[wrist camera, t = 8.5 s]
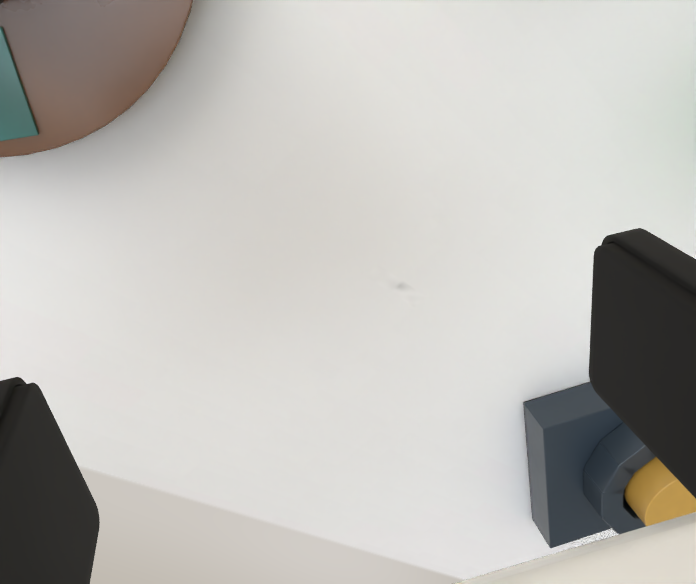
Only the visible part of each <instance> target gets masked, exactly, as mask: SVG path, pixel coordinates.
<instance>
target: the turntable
mask: <svg viewBox="0 0 696 584" xmlns="http://www.w3.org/2000/svg"><path fill="white" fill-rule="evenodd" d="M192 3H193V0H0V157H10V156H20V155H28V154H33V153H37V152H41V151H46V150H50V149H55V148H58V147H60V146H63V145H66V144H68V143H71V142H74V141H76V140H79V139H82V138H84V137H86V136H88V135H89V134H91V133H93V132H95V131H97V130H99V129H100V128H102V127H104V126H106V125H108V124H109V123H110V122H112V121H113V120H114V119H116V118H117V117H118V116H120V115H121V114H122V113H124V112H125V111H126V110H128V109H129V108H130V107H131V106H132V105H133V104H134V103H135V102H136V101H137V100H138V99H139V98H140V97H141V96H142V95H143V94H144V93H145V92H146V91H147V90H148V89H149V88H150V86H151V85H152V84H153V82H154V81H155V80H156V78H157V77H158V76H159V74H160V73H161V72H162V70H163V69H164V68H165V66H166V65H167V63H168V61H169V59H170V57H171V55H172V54H173V52H174V50H175V48H176V46H177V44H178V42H179V41H180V38H181V35H182V33H183V30H184V27H185V25H186V22H187V19H188V17H189V14H190V11H191V7H192Z"/></svg>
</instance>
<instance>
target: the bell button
mask: <svg viewBox="0 0 696 584" xmlns="http://www.w3.org/2000/svg"><path fill="white" fill-rule="evenodd" d="M624 494H625V499H626V502H627V503H628V505H629V506H630V507H631V508H632V510H633V511H634V512H635V513H636V514H637V516H638V517H639V518H640V519H641V521H642V522H643V523H644V524H645V526H650V525H653V524H656V523H660V522H663V521H667V520H670V519H674V518H677V517H680V516H684V515H687V514H691V513H694V512H696V498H695V497H694V496H693V495H692V494H691V493H690V492H689V491H688V490H687V489H686V488H685V487H684V486H683V485H682V484H681V483H680V481H679V480H678V479H677V478H676V477H675V476H674V475H673V474H672V473H671V472H670V471H669V470H668V469H667V468H666V467H665V466H664V464H663V463H662V462H661V461H660V460H659V459H658V458H657V457H655V458H653V459H652V460H651V461H649V462H648V463H647V464H645V465H644V466H643V467H642V468H640V469H639V470H638V471H636V472H635V473H634V474H633V476H632V478H631V479H630V481H629V482H628V484H627V486H626V487H625V492H624Z"/></svg>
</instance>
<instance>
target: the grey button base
mask: <svg viewBox="0 0 696 584" xmlns="http://www.w3.org/2000/svg"><path fill="white" fill-rule="evenodd" d="M524 415H525V428H526V441H527V454H528V466H529V479H530V492H531V505H532V518H533V521H534V522H535V524H536V526H537V527H538V529H539V531H540V532H541V534H542V536H543V537H544V539H545V540H546V542H547V544H548V545H549V547H550V548H553V547H556V546H559V545H562V544H565V543H568V542H571V541H574V540H577V539H580V538H583V537H586V536H589V535H592V534H596V533H599V532H602V531H605V530H608V529H611V528H612V529H613V530H614V531H615V532H616V533H619V534H622V533H626V532H629V531H632V530H636V529H639V528H643V527H646V526H645V524H644V523H643V522H642V521H641V519H640V518H639V517H638V516H637V514H636V513H635V512H634V511H633V510H632V508H631V507H630V506H629V505H628V503H627V502H626V499H625V494H624V492H625V487H626V486H627V484H628V482H629V481H630V479H631V478H632V476H633V474H634V473H635V472H636V471H638V470H639V469H640V468H642V467H643V466H644V465H645V464H647V463H648V462H649V461H651V460H652V459H653V458H655V457H656V456H655V455H654V454H653V453H652V452H651V451H650V450H649V449H648V447H647V446H646V445H645V444H644V443H643V442H642V441H641V440H640V439H639V438H638V437H637V436H636V435H635V434H634V433H633V432H632V430H631V429H630V428H629V427H628V426H627V425H626V424H625V423H624V422H623V421H622V420H621V419H620V418H619V417H618V416H617V415H616V413H615V412H614V411H613V410H612V409H611V408H610V407H609V406H608V405H607V404H606V403H605V402H604V401H603V400H602V399H601V397H600V396H599V395H598V394H597V393H596V392H595V390H594V388H593V387H592V384H591V382H589V383H586V384H582V385H579V386H576V387H573V388H569V389H566V390H563V391H560V392H556V393H553V394H550V395H546V396H543V397H540V398H537V399H533V400H530V401H527V402H524Z"/></svg>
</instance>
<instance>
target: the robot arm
mask: <svg viewBox="0 0 696 584" xmlns="http://www.w3.org/2000/svg"><path fill="white" fill-rule="evenodd" d="M589 377H590V382H591V384H592V387H593V388H594V390H595V392H596V393H597V394H598V395H599V396H600V397H601V399H602V400H603V401H604V402H605V403H606V404H607V405H608V406H609V407H610V408H611V409H612V410H613V411H614V412H615V413H616V415H617V416H618V417H619V418H620V419H621V420H622V421H623V422H624V423H625V424H626V425H627V426H628V427H629V428H630V429H631V430H632V432H633V433H634V434H635V435H636V436H637V437H638V438H639V439H640V440H641V441H642V442H643V443H644V444H645V445H646V446H647V447H648V449H649V450H650V451H651V452H652V453H653V454H654V455H655V456H656V457H657V458H658V459H659V460H660V461H661V462H662V463H663V464H664V466H665V467H666V468H667V469H668V470H669V471H670V472H671V473H672V474H673V475H674V476H675V477H676V478H677V479H678V480H679V481H680V483H681V484H682V485H683V486H684V487H685V488H686V489H687V490H688V491H689V492H690V493H691V494H692V495H693V496H694V497H695V498H696V259H694V258H692V257H691V256H689V255H687V254H685V253H684V252H682V251H680V250H679V249H677V248H675V247H673V246H672V245H670V244H668V243H667V242H665V241H663V240H661V239H660V238H658V237H656V236H655V235H653V234H651V233H650V232H648V231H646V230H644V229H641V228H638V229H633V230H629V231H625V232H621V233H616V234H612V235H608V236H606V237H605V238H604V240H603V242H602V245H601V246H598V247H597V248H596V250H595V252H594V264H593V287H592V311H591V335H590V359H589ZM98 532H99V514H98V509H97V506H96V503H95V501H94V499H93V497H92V495H91V493H90V491H89V489H88V486H87V484H86V482H85V480H84V478H83V476H82V474H81V472H80V470H79V468H78V466H77V464H76V462H75V460H74V457H73V455H72V453H71V451H70V449H69V447H68V445H67V443H66V441H65V439H64V437H63V435H62V433H61V431H60V429H59V426H58V424H57V422H56V420H55V418H54V416H53V414H52V412H51V410H50V408H49V406H48V404H47V402H46V400H45V398H44V396H43V393H42V391H41V390H40V388H39V386H38V385H37V384H35V383H29V384H26V383H25V382H24V381H23V380H22V379H21V378H19V377H15V378H11V379H7V380H2V381H0V584H90V578H91V572H92V566H93V561H94V555H95V549H96V543H97V537H98ZM454 584H696V512H694V513H691V514H687V515H684V516H680V517H677V518H674V519H670V520H667V521H663V522H660V523H656V524H653V525H650V526H646V527H643V528H639V529H636V530H632V531H629V532H626V533H622V534H619V535H615V536H612V537H609V538H605V539H602V540H598V541H595V542H591V543H588V544H585V545H581V546H578V547H574V548H571V549H568V550H564V551H561V552H557V553H554V554H551V555H547V556H544V557H541V558H537V559H534V560H531V561H527V562H524V563H521V564H517V565H514V566H510V567H507V568H504V569H500V570H497V571H494V572H490V573H487V574H484V575H480V576H477V577H474V578H470V579H467V580H463V581H460V582H457V583H454Z"/></svg>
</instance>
